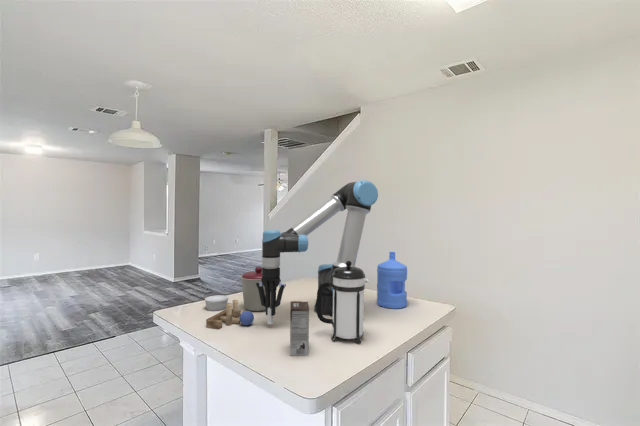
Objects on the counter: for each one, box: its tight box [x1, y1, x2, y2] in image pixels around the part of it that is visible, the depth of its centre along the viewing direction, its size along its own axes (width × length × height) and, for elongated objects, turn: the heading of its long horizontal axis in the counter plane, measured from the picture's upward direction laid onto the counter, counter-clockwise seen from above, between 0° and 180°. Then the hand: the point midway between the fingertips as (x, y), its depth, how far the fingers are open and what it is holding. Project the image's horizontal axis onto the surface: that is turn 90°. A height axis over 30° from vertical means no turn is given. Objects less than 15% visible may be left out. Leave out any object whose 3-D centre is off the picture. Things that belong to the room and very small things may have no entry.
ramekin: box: [204, 294, 229, 312], centre depth 159 cm, size 11×11×5 cm
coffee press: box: [316, 261, 370, 345], centre depth 123 cm, size 17×16×30 cm
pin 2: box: [232, 299, 239, 318], centre depth 141 cm, size 2×2×9 cm
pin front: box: [220, 316, 242, 325], centre depth 138 cm, size 2×2×9 cm
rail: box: [205, 309, 242, 330], centre depth 139 cm, size 7×17×3 cm, turn 164°
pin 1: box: [225, 302, 233, 326], centre depth 136 cm, size 2×2×9 cm
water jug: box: [376, 251, 408, 310], centre depth 168 cm, size 16×16×28 cm
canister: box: [239, 266, 271, 312], centre depth 159 cm, size 18×18×21 cm
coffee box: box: [289, 300, 310, 357], centre depth 111 cm, size 9×6×16 cm
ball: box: [239, 310, 255, 326], centre depth 136 cm, size 6×6×6 cm
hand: (270, 322), depth 133 cm, fingers closed
